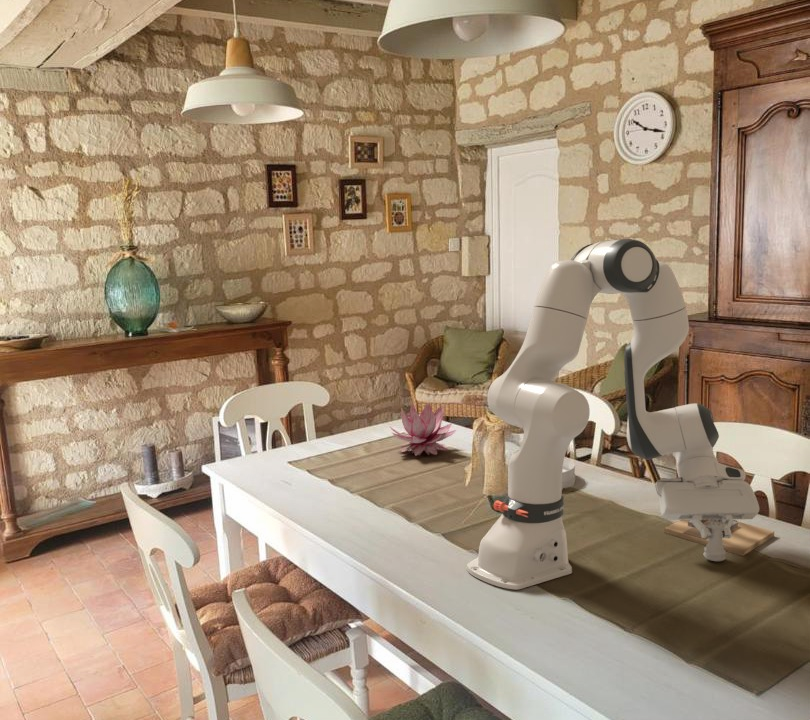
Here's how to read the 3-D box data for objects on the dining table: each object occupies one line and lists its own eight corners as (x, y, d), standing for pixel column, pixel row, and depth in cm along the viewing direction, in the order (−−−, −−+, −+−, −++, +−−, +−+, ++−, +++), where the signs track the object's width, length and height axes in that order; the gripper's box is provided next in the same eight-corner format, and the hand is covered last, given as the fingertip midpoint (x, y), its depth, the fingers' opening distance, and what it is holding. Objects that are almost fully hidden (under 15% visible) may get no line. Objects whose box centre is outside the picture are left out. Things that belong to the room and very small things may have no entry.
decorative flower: (385, 446, 250) (384, 402, 248) (446, 442, 254) (446, 399, 252) (395, 463, 229) (395, 415, 227) (462, 459, 233) (462, 412, 231)
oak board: (742, 556, 158) (743, 546, 158) (664, 532, 171) (664, 523, 171) (774, 536, 168) (774, 527, 168) (698, 516, 182) (698, 507, 181)
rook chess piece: (706, 551, 159) (708, 516, 158) (728, 557, 156) (730, 520, 155) (700, 558, 156) (702, 521, 154) (722, 564, 153) (725, 526, 152)
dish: (576, 494, 199) (576, 476, 199) (493, 490, 204) (493, 472, 203) (574, 470, 221) (574, 454, 220) (499, 467, 225) (499, 451, 225)
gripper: (657, 471, 160) (672, 531, 152) (751, 470, 161) (771, 530, 152) (649, 484, 165) (663, 543, 157) (740, 484, 166) (759, 543, 157)
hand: (717, 537), depth 155 cm, fingers closed on rook chess piece, 3 cm apart
